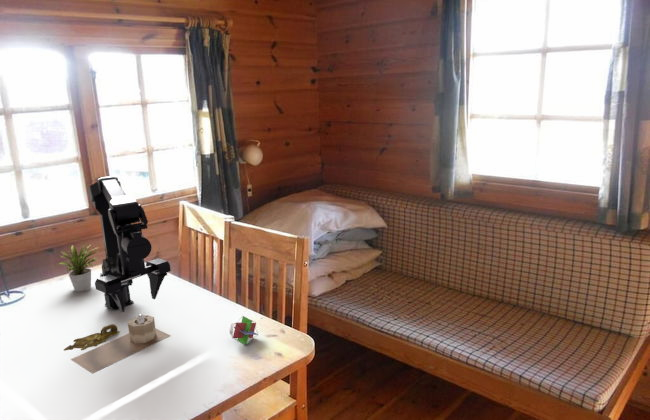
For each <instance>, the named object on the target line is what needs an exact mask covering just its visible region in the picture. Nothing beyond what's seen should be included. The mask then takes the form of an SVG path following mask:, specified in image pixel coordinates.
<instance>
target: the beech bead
mask: <svg viewBox="0 0 650 420" xmlns="http://www.w3.org/2000/svg"><path fill="white" fill-rule="evenodd" d="M143 316H144V321H145V322H144V323H141V324H138V323H137V316H136V317H133V318H131V319H130V320H129V321H128V323H127V328H128V333H129V335H130V341H132V342H133V343H135V344H138V343H146V342H148V341H150V340H153V339H154V338H155V336H156V329H157V328H156V321H155V317H154V316H152V315H149V314H147V315H144V314H143ZM155 328H156V329H155Z"/></svg>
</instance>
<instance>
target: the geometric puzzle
mask: <svg viewBox="0 0 650 420" xmlns="http://www.w3.org/2000/svg"><path fill="white" fill-rule="evenodd" d="M240 320H241V322H239V321H240ZM256 325H257V322H255V321H253V320H252V319H249V318H248V317H246V316H244V315H242V316H241V317H240V318H239V319H238V320H237V322H233V323H231V324H230V328H229V334H230V336H231V338H232V339H236V341H237V342H239V343H242V344H243V345H244V346H245V347H246V346H248V345H249V344H250V343H251V342H252V339H254V335H255V337H257V336H259V333H258V330H259V329H256V328H257V326H256ZM255 330H256V332H257V333H256V332H255Z"/></svg>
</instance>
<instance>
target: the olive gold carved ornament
mask: <svg viewBox="0 0 650 420" xmlns="http://www.w3.org/2000/svg"><path fill="white" fill-rule="evenodd" d="M108 330H109V331H108ZM120 333H121V331H119V328H118V325H116V323H115V324H114V323H112V324H109V325H106V326H102V328H101V330H100V332H97V333H93V334H89V335H87V336H84V337H79V338H75V339H74V340H73V342H74V343H73V344H72V345H71V344H69V345H67V347H65V348H63V351H68V350H74V349H80V350H81V351H84V350H87V349H88V348H91V347H97V346H98V345H100V344H102V343H107V339H109V338H110V337H112V336H115V335H118V334H120Z"/></svg>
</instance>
